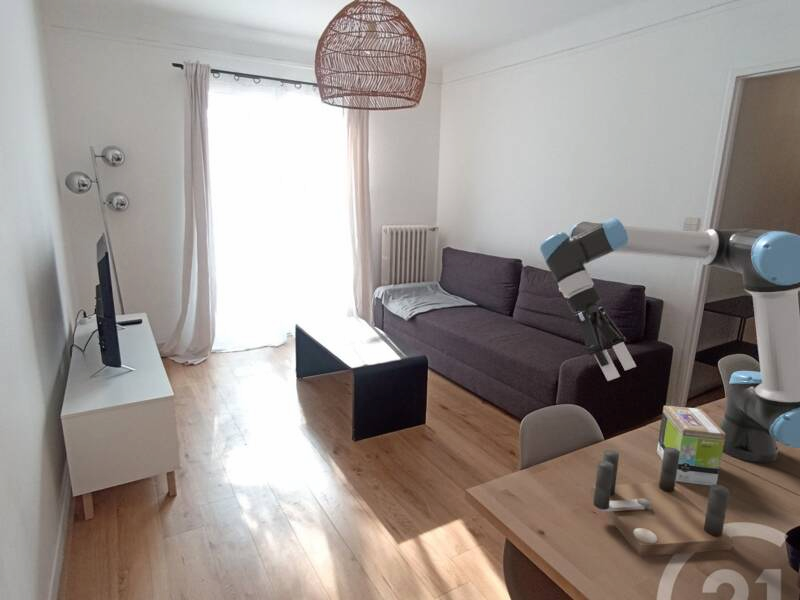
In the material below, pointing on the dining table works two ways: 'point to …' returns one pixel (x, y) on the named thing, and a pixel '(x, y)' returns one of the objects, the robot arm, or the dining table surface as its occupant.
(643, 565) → the dining table surface
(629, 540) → the stool seat
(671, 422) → the tea box
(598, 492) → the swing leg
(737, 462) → the dining table surface
